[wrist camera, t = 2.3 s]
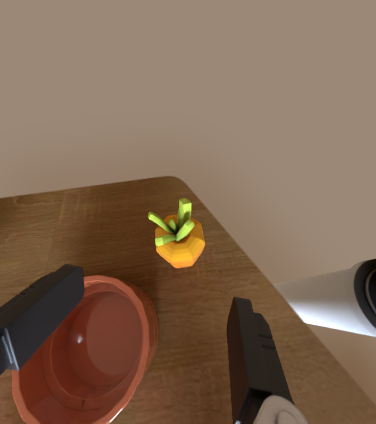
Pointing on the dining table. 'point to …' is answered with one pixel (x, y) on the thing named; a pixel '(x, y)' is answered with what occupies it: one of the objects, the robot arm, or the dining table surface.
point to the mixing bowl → (90, 357)
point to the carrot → (179, 236)
